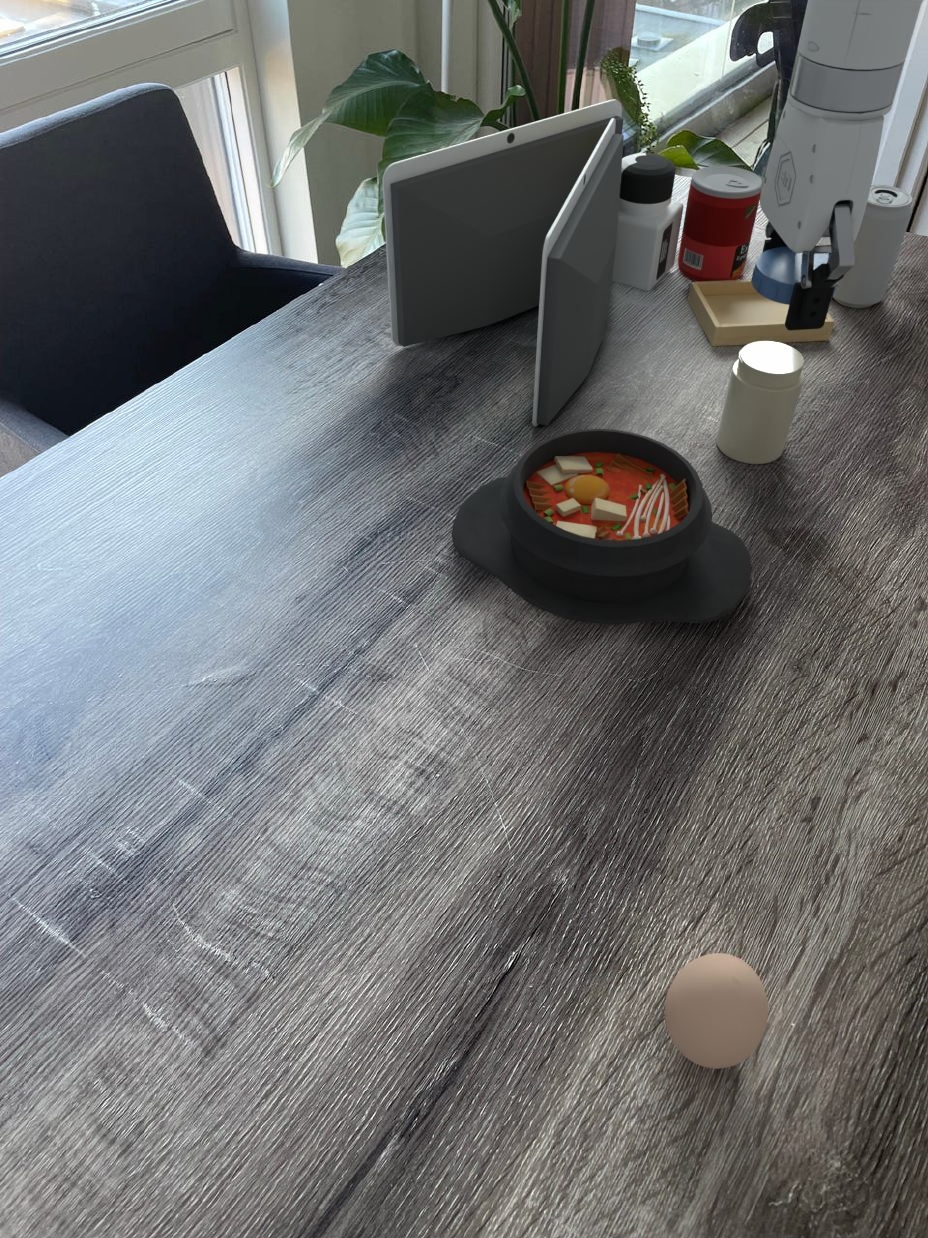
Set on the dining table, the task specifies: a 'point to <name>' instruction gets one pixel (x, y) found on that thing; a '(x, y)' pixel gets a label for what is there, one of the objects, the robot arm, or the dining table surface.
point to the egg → (716, 1011)
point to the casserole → (605, 533)
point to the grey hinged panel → (511, 240)
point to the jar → (760, 402)
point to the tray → (745, 315)
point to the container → (646, 221)
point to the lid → (780, 273)
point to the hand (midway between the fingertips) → (788, 303)
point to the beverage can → (876, 247)
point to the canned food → (718, 223)
